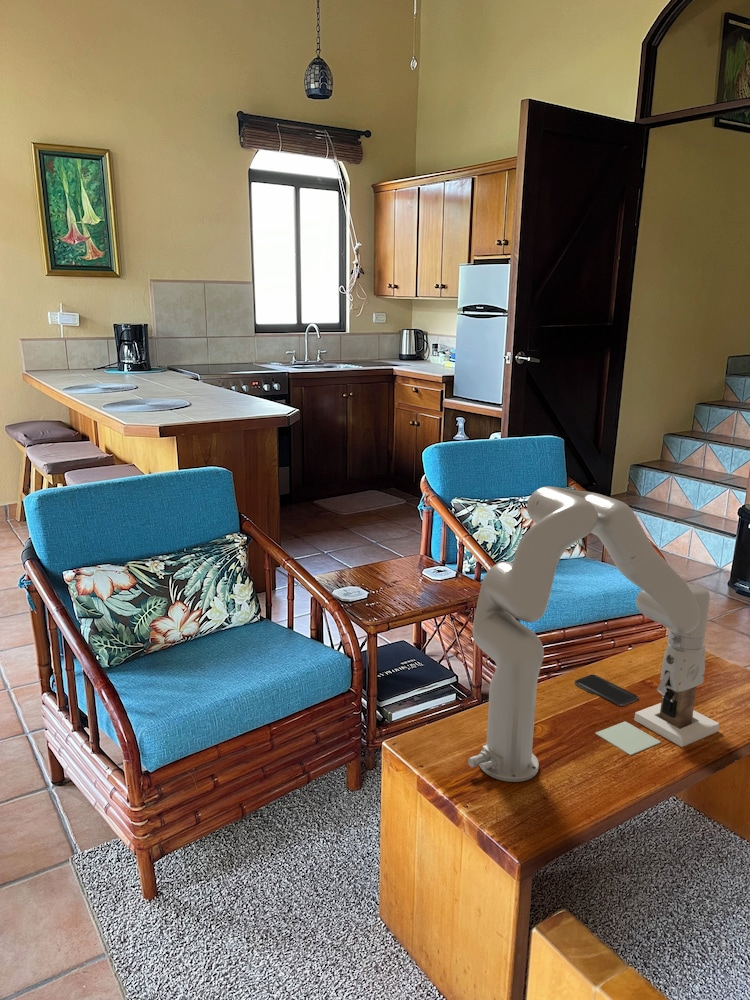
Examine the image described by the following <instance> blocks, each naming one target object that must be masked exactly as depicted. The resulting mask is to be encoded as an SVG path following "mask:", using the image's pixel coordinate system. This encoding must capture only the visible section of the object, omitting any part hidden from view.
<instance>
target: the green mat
mask: <svg viewBox="0 0 750 1000" xmlns="http://www.w3.org/2000/svg"><path fill="white" fill-rule="evenodd" d="M594 733H595V735H596V736H598V737H600V738H601V739H603V740H605V741H606V742H608V743H609V744H611V745H612V746H614V747H616V748H617V749H619V750H621V751H623V752H624V753H625V754H627V755H629V756H633V755H636V754H637V753H640V752H642V751H644V750H647V749H649V748H652V747H655V746H657V745H659V744H661V743H662V741H661V740H659V739H657V738H656V737H653V736H652V735H651V734H648V733H646V732H645V731H643V730H641V729H640V728H639V727H636V726H635V725H633V724H631V723H630V722H627V721H625V720H624V721H623V722H619V723H617V724H615V725H611V726H609V727H607V728H604V729H601V730H599V731H596V732H594Z"/></svg>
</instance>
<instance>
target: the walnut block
mask: <svg viewBox="0 0 750 1000" xmlns="http://www.w3.org/2000/svg"><path fill="white" fill-rule="evenodd" d="M670 685H671V684H670ZM669 692H670V694H671V695H672V693H673V690H671V689H669ZM696 693H697V687H693V688H690V689H688V690H685V691H682V692H678V694H677V697H676V700H675V701H676V702H677V707H676V715H675V717H674V718H672V717H670V716H668V715H666V714H664V713H663V712H662V707H663V699H664V698H663V697H662V696H661V702H660V703H661V709H660V717H659V718H661V719H662V720H664V721H666V722H668V723H670V724H672V725H674V726H675V727H677V728H679V729H681V728H683V727H686V726H688V725H691V724H692V717H693V710H694V709H695V700H696ZM694 711H695V710H694Z"/></svg>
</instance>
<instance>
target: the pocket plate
mask: <svg viewBox="0 0 750 1000" xmlns="http://www.w3.org/2000/svg"><path fill="white" fill-rule="evenodd" d="M660 709H661V702H659V703H657V704H654V705H652V706H648V707H646V708H643V709H641V710H638V711H635V712H634V718H633V719H634V721H635V722H636V723H638V724H640V725H642V726H644V727H645V728H647V729H648V730H651V731H653V732H654V733H656V734H657V735H659V736H661V737H663V738H664V739H666V740H668V741H670V742H672V743H673V744H675V745H677V746H679V747H680V748H683V747H685V746H686V747H687V746H688V745H690V744H692V743H695V742H698V741H700V740H702V739H705V738H706V737H709V736H711V735H713V734H716V733H718V732H719V731H720V730H719V729H720V723H719V722H718V721H715V720H714V719H712V718H710V717H708V716H706V715H704V714H702V713H700V712H698V711H696V710H693V717H692V724H691V725H688V726H686V727H683V728H681V729H679V728H677V727H675V726H674V725H672V724H670V723H668V722H666V721H664V720H662V719H661V718H659V717H660Z"/></svg>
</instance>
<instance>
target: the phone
mask: <svg viewBox="0 0 750 1000" xmlns="http://www.w3.org/2000/svg"><path fill="white" fill-rule="evenodd" d="M574 685H575V686H576V687H578V688H580V689H582V690H583V691H586V692H588V693H590V694H591V695H593V696H594V695H596V696H598V697H600V698H601V699H604V700H605V701H608V702H609V703H611V704H613V705H615V706H617V707H625V706H627V705H630V704H631V703H634V702H637V701H638V700H639V699H640V698H639V696H638V695H636V694H635V693H632V692H631V691H629V690H626V689H625V688H623V687H621V686H618V685H617V684H614V683H613V682H610V681H608V680H607V679H604V678H602V677H601V676H599V675H597V674H588V675H586V676H583V677H581V678H578V679H576V680H574Z"/></svg>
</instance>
